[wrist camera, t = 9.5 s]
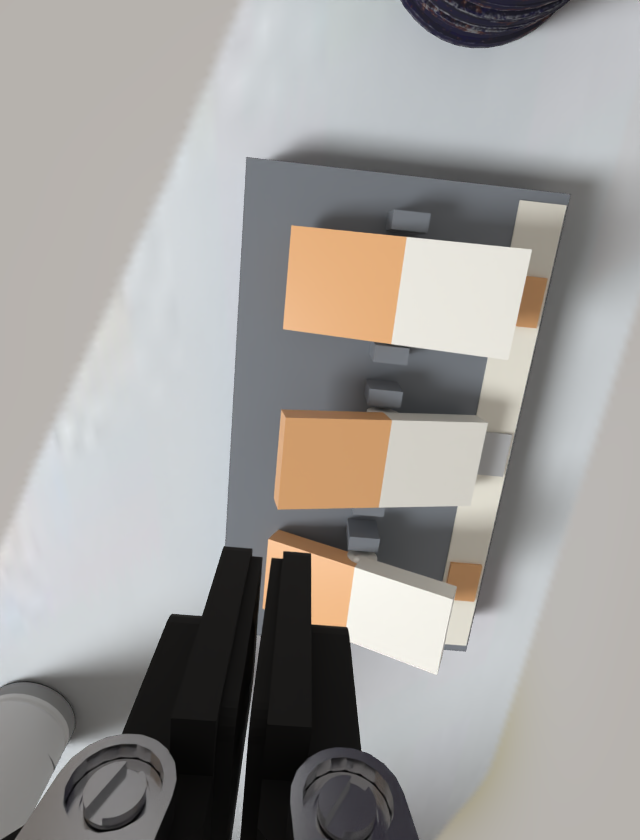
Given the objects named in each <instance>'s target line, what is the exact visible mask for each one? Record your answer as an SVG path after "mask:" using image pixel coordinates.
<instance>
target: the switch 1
mask: <svg viewBox="0 0 640 840" xmlns="http://www.w3.org/2000/svg"><path fill="white" fill-rule="evenodd" d="M531 252H532V249H522V248H512V247H502V246H492V245H482V244H472V243H462V242H452V241H442V240H432V239H422V238H412V237H402V236H392V235H382V234H373V233H363V232H353V231H343V230H333V229H323V228H313V227H303V226H293V225H291V236H290V248H289V261H288V273H287V285H286V298H285V310H284V322H283V329H285V330H292V331H300V332H307V333H314V334H322V335H329V336H336V337H343V338H351V339H358V340H365V341H372V342H380V343H387V344H394V345H401V346H409V347H416V348H423V349H430V350H438V351H445V352H452V353H459V354H467V355H474V356H481V357H488V358H496V359H503V360H508V359H509V355H510V350H511V345H512V341H513V336H514V331H515V327H516V322H517V317H518V313H519V308H520V304H521V299H522V294H523V290H524V285H525V280H526V276H527V271H528V266H529V262H530V257H531Z"/></svg>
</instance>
